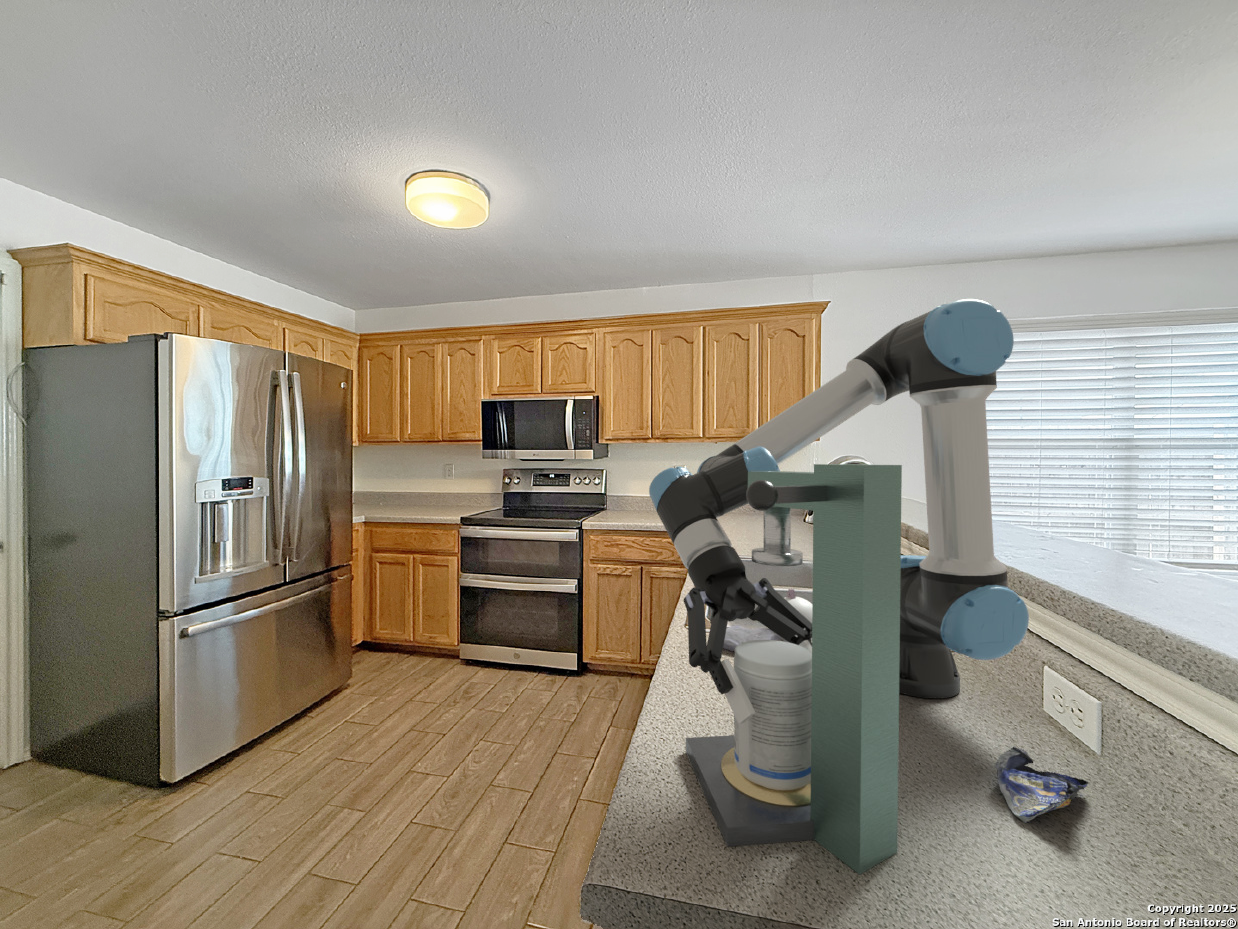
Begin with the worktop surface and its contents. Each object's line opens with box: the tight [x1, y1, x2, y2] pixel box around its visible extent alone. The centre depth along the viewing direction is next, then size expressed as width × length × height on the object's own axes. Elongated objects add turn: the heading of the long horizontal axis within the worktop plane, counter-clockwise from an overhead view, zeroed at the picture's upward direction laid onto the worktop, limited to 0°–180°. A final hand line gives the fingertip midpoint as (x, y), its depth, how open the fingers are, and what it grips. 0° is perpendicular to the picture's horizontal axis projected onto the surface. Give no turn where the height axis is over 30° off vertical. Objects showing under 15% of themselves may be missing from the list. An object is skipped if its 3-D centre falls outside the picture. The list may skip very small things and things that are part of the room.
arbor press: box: [685, 463, 903, 875], centre depth 63 cm, size 18×23×40 cm
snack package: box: [994, 746, 1089, 824], centre depth 64 cm, size 12×7×12 cm
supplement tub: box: [733, 640, 812, 790], centre depth 66 cm, size 10×10×15 cm
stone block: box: [723, 624, 781, 653], centre depth 114 cm, size 12×5×10 cm
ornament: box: [779, 588, 812, 642], centre depth 117 cm, size 10×10×12 cm
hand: (790, 705), depth 63 cm, fingers open, 13 cm apart
